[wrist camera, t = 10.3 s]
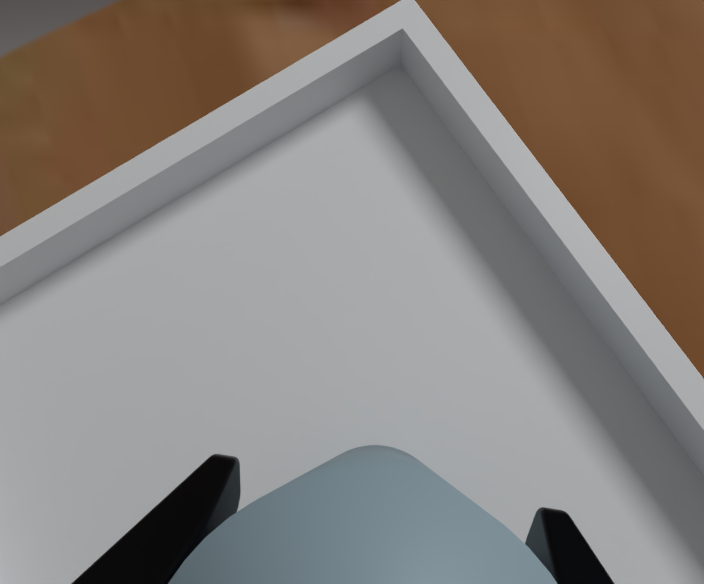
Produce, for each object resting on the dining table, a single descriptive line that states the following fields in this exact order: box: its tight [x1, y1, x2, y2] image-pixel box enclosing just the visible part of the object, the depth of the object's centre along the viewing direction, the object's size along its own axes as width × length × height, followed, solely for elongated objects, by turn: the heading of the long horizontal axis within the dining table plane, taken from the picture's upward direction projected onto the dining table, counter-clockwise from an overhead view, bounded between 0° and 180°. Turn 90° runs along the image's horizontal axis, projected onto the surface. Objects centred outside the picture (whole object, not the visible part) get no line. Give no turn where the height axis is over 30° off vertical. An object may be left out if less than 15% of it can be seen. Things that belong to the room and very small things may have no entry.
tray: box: [0, 0, 704, 584], centre depth 17 cm, size 20×20×2 cm
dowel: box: [168, 445, 557, 584], centre depth 11 cm, size 4×4×12 cm
